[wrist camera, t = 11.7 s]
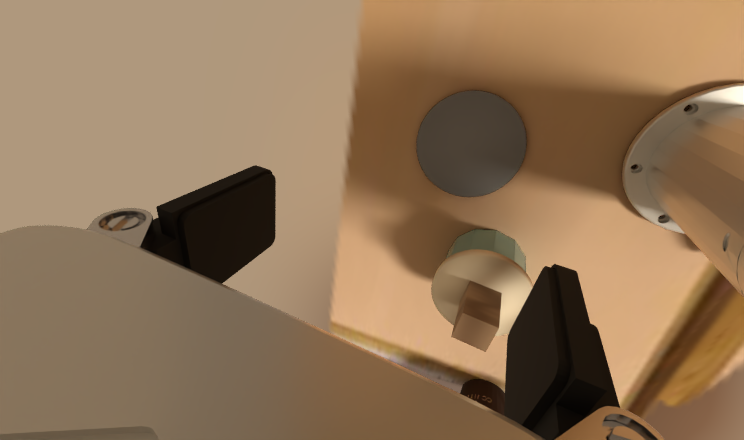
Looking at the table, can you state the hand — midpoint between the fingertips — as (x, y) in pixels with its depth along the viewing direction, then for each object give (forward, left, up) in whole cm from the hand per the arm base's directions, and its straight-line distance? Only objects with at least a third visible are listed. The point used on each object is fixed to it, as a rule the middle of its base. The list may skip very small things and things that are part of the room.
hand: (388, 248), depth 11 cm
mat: (-2, +2, -27) cm, 27 cm away
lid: (-15, +8, -21) cm, 27 cm away
